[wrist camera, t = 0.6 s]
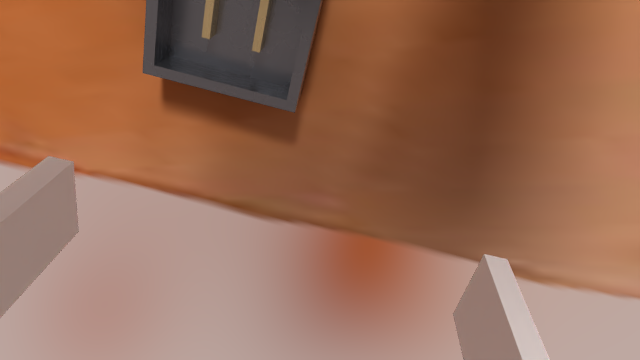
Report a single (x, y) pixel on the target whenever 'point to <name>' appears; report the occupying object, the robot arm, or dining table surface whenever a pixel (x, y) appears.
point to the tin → (233, 46)
